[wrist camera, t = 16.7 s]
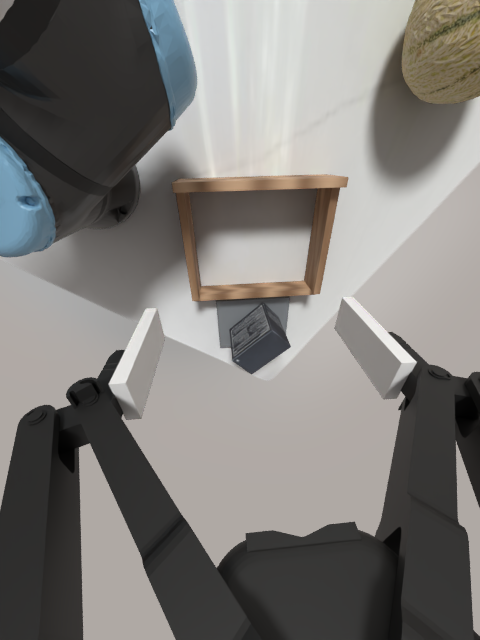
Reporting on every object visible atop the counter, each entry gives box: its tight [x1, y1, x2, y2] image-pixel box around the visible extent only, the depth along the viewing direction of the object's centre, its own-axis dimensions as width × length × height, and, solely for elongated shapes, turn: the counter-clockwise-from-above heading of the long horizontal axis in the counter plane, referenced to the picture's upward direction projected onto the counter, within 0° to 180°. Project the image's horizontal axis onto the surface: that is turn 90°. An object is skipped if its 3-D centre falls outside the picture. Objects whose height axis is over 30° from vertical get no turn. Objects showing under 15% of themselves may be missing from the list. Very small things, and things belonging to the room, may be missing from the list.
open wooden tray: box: [172, 174, 348, 301], centre depth 41 cm, size 24×20×8 cm
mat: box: [216, 296, 290, 348], centre depth 55 cm, size 16×13×1 cm
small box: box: [229, 302, 291, 374], centre depth 50 cm, size 11×6×10 cm, turn 133°
